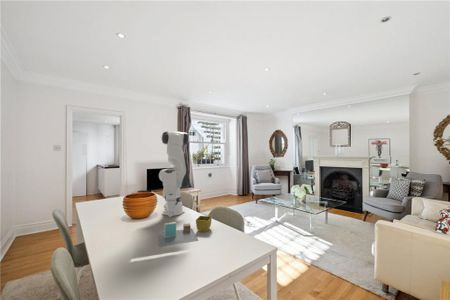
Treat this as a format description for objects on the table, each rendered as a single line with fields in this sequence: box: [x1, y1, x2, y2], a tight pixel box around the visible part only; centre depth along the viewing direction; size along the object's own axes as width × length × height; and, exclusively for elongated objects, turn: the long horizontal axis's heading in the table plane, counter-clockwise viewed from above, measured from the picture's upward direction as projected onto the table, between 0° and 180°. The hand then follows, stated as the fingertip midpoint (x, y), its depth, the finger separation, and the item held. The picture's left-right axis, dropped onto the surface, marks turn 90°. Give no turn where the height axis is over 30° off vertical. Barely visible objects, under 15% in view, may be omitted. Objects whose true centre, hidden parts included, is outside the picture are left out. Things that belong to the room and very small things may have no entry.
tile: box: [163, 221, 177, 237], centre depth 122 cm, size 2×7×8 cm, turn 110°
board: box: [157, 228, 199, 247], centre depth 121 cm, size 20×22×1 cm
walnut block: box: [182, 222, 191, 232], centre depth 130 cm, size 4×4×4 cm
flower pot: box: [195, 215, 213, 233], centre depth 132 cm, size 9×9×9 cm
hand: (169, 216), depth 128 cm, fingers closed
